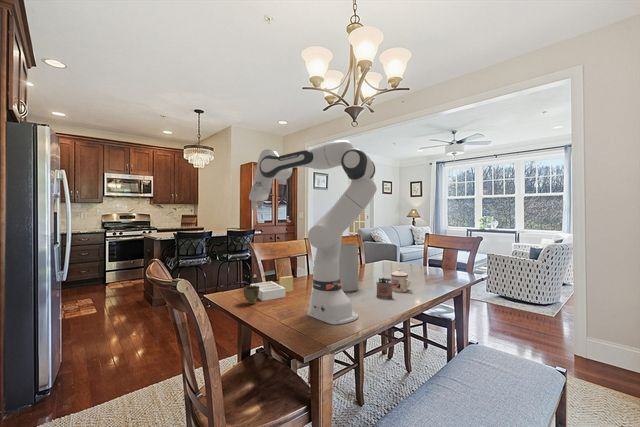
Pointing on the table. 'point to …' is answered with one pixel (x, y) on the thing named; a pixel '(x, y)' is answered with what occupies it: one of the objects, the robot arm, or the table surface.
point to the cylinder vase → (348, 267)
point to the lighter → (384, 288)
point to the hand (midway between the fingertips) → (256, 208)
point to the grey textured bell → (251, 293)
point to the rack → (269, 290)
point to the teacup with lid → (400, 281)
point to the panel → (286, 283)
